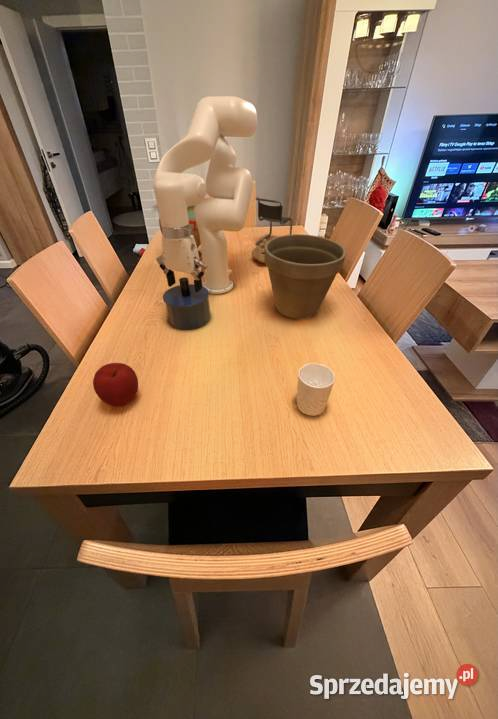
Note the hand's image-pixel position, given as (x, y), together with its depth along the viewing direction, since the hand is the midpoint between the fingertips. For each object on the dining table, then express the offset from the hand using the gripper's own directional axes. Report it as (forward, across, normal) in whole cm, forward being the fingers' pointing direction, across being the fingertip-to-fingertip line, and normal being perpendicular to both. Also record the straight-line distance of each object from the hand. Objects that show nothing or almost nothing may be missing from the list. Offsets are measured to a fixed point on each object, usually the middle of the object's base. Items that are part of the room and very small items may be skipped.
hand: (185, 287), depth 94 cm
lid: (+3, 0, 0) cm, 3 cm away
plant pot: (+12, -32, -20) cm, 39 cm away
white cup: (+12, -47, +22) cm, 53 cm away
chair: (+12, -2, -80) cm, 81 cm away
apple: (+12, -4, +38) cm, 40 cm away
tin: (+11, 0, 0) cm, 11 cm away
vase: (+12, +28, -44) cm, 53 cm away
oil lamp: (+12, -6, -55) cm, 56 cm away
